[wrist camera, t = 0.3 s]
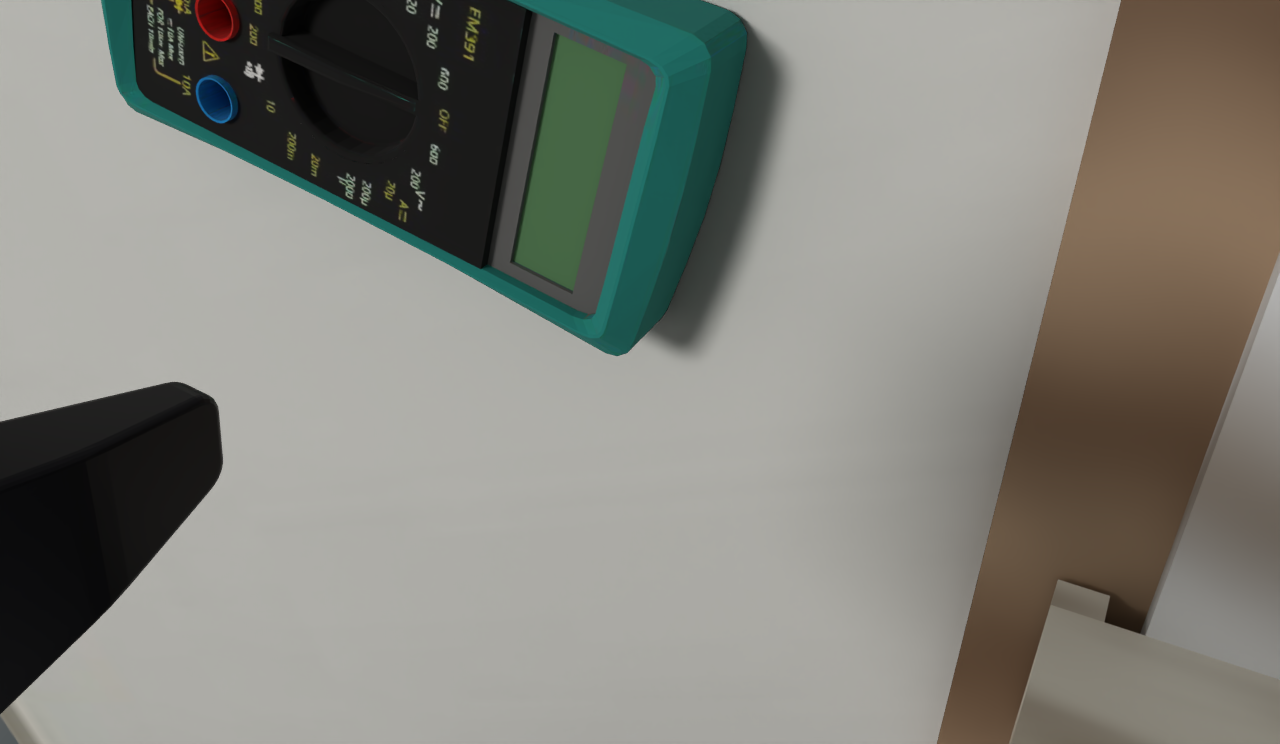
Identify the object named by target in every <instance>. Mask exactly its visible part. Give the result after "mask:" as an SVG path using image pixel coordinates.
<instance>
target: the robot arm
mask: <svg viewBox="0 0 1280 744" xmlns="http://www.w3.org/2000/svg"><path fill="white" fill-rule="evenodd" d="M222 465H223V454H222V442H221V431H220V419H219V410H218V406H217V403H216V402H215V400H214V399H213V398H212V397H211V396H209V395H207V394H205V393H203V392H201V391H199V390H197V389H195V388H193V387H191V386H189V385H187V384H184V383H180V382H170V383H164V384H160V385H156V386H151V387H147V388H143V389H138V390H134V391H130V392H125V393H121V394H117V395H113V396H108V397H104V398H100V399H95V400H91V401H87V402H83V403H78V404H74V405H70V406H65V407H61V408H57V409H53V410H48V411H44V412H40V413H35V414H31V415H27V416H23V417H18V418H14V419H10V420H5V421H1V422H0V714H1V713H2V712H3V711H4V710H5V709H6V708H7V707H8V706H9V705H10V704H11V703H12V702H13V701H15V700H16V699H17V698H18V697H19V696H20V695H21V694H22V693H23V692H24V691H25V690H26V689H27V688H28V687H29V686H30V685H31V684H32V683H33V682H34V681H35V680H36V679H37V678H38V677H39V676H40V675H41V674H42V673H43V672H44V671H45V670H47V669H48V668H49V667H50V666H51V665H52V664H53V663H54V662H55V661H56V660H57V659H58V658H59V657H60V656H61V655H62V654H63V653H64V652H65V651H66V650H67V649H68V648H69V647H70V646H71V645H72V644H73V643H74V642H75V641H76V640H78V639H79V638H80V637H81V636H82V635H83V634H84V633H85V632H86V631H87V630H88V629H89V628H90V627H91V626H92V625H93V624H94V623H95V622H96V621H97V620H98V619H99V618H100V617H101V616H102V615H103V614H104V613H105V612H106V611H107V610H108V609H109V608H110V607H111V606H112V605H113V604H114V602H115V601H116V600H117V599H118V598H119V597H120V596H121V595H122V594H123V592H124V591H125V590H126V589H127V588H128V587H129V586H130V585H131V583H132V582H133V581H134V580H135V579H136V578H137V576H138V575H139V574H140V573H141V572H142V570H143V569H144V568H145V567H146V566H147V565H148V563H149V562H150V561H151V560H152V559H153V557H154V556H155V555H156V554H157V553H158V551H159V550H160V549H161V548H162V547H163V546H164V544H165V543H166V542H167V541H168V540H169V538H170V537H171V536H172V535H173V534H174V533H175V531H176V530H177V529H178V528H179V527H180V525H181V524H182V523H183V522H184V521H185V520H186V518H187V517H188V516H189V515H190V514H191V512H192V511H193V510H194V509H195V508H196V507H197V505H198V504H199V503H200V502H201V501H202V499H203V498H204V497H205V496H206V495H207V494H208V492H209V491H210V490H211V489H212V487H213V486H214V485H215V483H216V481H217V480H218V478H219V475H220V473H221V470H222Z"/></svg>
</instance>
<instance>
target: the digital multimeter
mask: <svg viewBox="0 0 1280 744" xmlns="http://www.w3.org/2000/svg"><path fill="white" fill-rule="evenodd" d="M509 1H511V2H513V3H515V4H517V5H515V4H513V3H511V2H509ZM101 3H102V8H103V14H104V20H105V25H106V31H107V38H108V44H109V50H110V55H111V60H112V65H113V70H114V75H115V80H116V85H117V88H118V90H119V92H120V94H121V95H122V96H123V97H124V99H125V101H126V102H127V104H128V105H129V106H130V107H131V108H133V109H134V110H135V111H136V112H138V113H141V114H143V115H145V116H147V117H150V118H152V119H154V120H156V121H159V122H161V123H163V124H165V125H168V126H170V127H172V128H174V129H177V130H179V131H181V132H184V133H186V134H188V135H190V136H193V137H195V138H197V139H199V140H202V141H204V142H206V143H208V144H211V145H213V146H215V147H217V148H220V149H222V150H224V151H226V152H228V153H230V154H232V155H234V156H236V157H238V158H240V159H242V160H244V161H246V162H249V163H251V164H253V165H255V166H257V167H259V168H261V169H263V170H265V171H267V172H269V173H271V174H273V175H275V176H277V177H279V178H281V179H283V180H285V181H287V182H289V183H291V184H293V185H295V186H297V187H299V188H301V189H303V190H305V191H307V192H309V193H311V194H313V195H316V196H318V197H320V198H322V199H324V200H326V201H327V202H329V203H331V204H333V205H335V206H337V207H339V208H341V209H343V210H345V211H347V212H349V213H351V214H353V215H354V216H356V217H358V218H360V219H362V220H364V221H366V222H368V223H370V224H372V225H374V226H376V227H378V228H379V229H381V230H383V231H385V232H387V233H389V234H391V235H393V236H395V237H397V238H399V239H401V240H403V241H404V242H406V243H408V244H410V245H412V246H414V247H416V248H418V249H420V250H422V251H424V252H426V253H428V254H430V255H431V256H433V257H435V258H437V259H439V260H441V261H443V262H445V263H447V264H449V265H450V266H452V267H454V268H456V269H458V270H459V271H461V272H463V273H465V274H466V275H468V276H470V277H472V278H474V279H475V280H477V281H479V282H481V283H482V284H484V285H486V286H488V287H489V288H491V289H493V290H495V291H497V292H498V293H500V294H502V295H504V296H505V297H507V298H509V299H511V300H513V301H514V302H516V303H518V304H520V305H521V306H523V307H525V308H527V309H529V310H530V311H532V312H534V313H536V314H537V315H539V316H541V317H543V318H544V319H546V320H548V321H550V322H552V323H553V324H555V325H557V326H559V327H560V328H562V329H564V330H566V331H568V332H569V333H571V334H573V335H575V336H576V337H578V338H580V339H582V340H583V341H585V342H587V343H589V344H591V345H592V346H594V347H596V348H598V349H599V350H601V351H603V352H605V353H607V354H611V355H615V356H619V355H623V354H626V353H628V352H629V351H630V350H631V349H632V347H633V346H634V345H635V344H636V343H637V342H638V341H639V340H640V339H641V338H642V337H643V336H644V335H645V334H646V333H647V332H648V331H649V330H650V329H651V328H652V327H653V326H654V325H655V324H656V323H657V322H658V321H659V320H660V319H661V318H662V316H663V315H664V314H665V312H666V311H667V309H668V306H669V304H670V301H671V299H672V297H673V294H674V292H675V290H676V287H677V285H678V283H679V280H680V278H681V275H682V273H683V271H684V268H685V266H686V263H687V261H688V258H689V256H690V253H691V250H692V248H693V245H694V242H695V240H696V237H697V235H698V232H699V229H700V227H701V224H702V221H703V219H704V216H705V213H706V209H707V206H708V203H709V200H710V196H711V193H712V190H713V187H714V183H715V180H716V177H717V174H718V171H719V167H720V164H721V160H722V155H723V151H724V147H725V143H726V139H727V135H728V131H729V126H730V122H731V118H732V114H733V110H734V105H735V100H736V96H737V91H738V86H739V81H740V76H741V71H742V67H743V62H744V57H745V52H746V46H747V32H746V30H745V27H744V25H743V23H742V21H741V19H740V18H738V17H737V16H736V15H734V14H733V13H732V12H730V11H729V10H726V9H723V8H721V7H718V6H715V5H712V4H710V3H707V2H704V1H701V0H508V1H506V0H101ZM518 5H519V6H518ZM520 6H522V7H524V8H526V9H524V8H522V7H520ZM301 123H302V124H301ZM382 162H383V163H382ZM365 163H368V164H365Z"/></svg>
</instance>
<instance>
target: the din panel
mask: <svg viewBox="0 0 1280 744" xmlns="http://www.w3.org/2000/svg"><path fill="white" fill-rule="evenodd" d="M937 744H1280V0H1121V3H1120V7H1119V12H1118V16H1117V20H1116V24H1115V28H1114V32H1113V36H1112V40H1111V44H1110V48H1109V52H1108V56H1107V60H1106V64H1105V68H1104V72H1103V76H1102V80H1101V84H1100V88H1099V92H1098V96H1097V100H1096V104H1095V108H1094V112H1093V116H1092V120H1091V124H1090V128H1089V132H1088V136H1087V141H1086V145H1085V149H1084V153H1083V157H1082V161H1081V165H1080V169H1079V173H1078V177H1077V181H1076V185H1075V189H1074V193H1073V197H1072V201H1071V205H1070V209H1069V213H1068V217H1067V221H1066V225H1065V229H1064V233H1063V237H1062V241H1061V245H1060V249H1059V253H1058V257H1057V261H1056V265H1055V270H1054V274H1053V278H1052V282H1051V286H1050V290H1049V294H1048V298H1047V302H1046V306H1045V310H1044V314H1043V318H1042V322H1041V326H1040V330H1039V334H1038V338H1037V342H1036V346H1035V350H1034V354H1033V358H1032V362H1031V366H1030V370H1029V374H1028V378H1027V382H1026V386H1025V390H1024V395H1023V399H1022V403H1021V407H1020V411H1019V415H1018V419H1017V423H1016V427H1015V431H1014V435H1013V439H1012V443H1011V447H1010V451H1009V455H1008V459H1007V463H1006V467H1005V471H1004V475H1003V479H1002V483H1001V487H1000V491H999V495H998V499H997V503H996V507H995V511H994V515H993V519H992V524H991V528H990V532H989V536H988V540H987V544H986V548H985V552H984V556H983V560H982V564H981V568H980V572H979V576H978V580H977V584H976V588H975V592H974V596H973V600H972V604H971V608H970V612H969V616H968V620H967V624H966V628H965V632H964V636H963V640H962V644H961V648H960V653H959V657H958V661H957V665H956V669H955V673H954V677H953V681H952V685H951V689H950V693H949V697H948V701H947V705H946V709H945V713H944V717H943V721H942V725H941V729H940V733H939V737H938V741H937Z"/></svg>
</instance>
